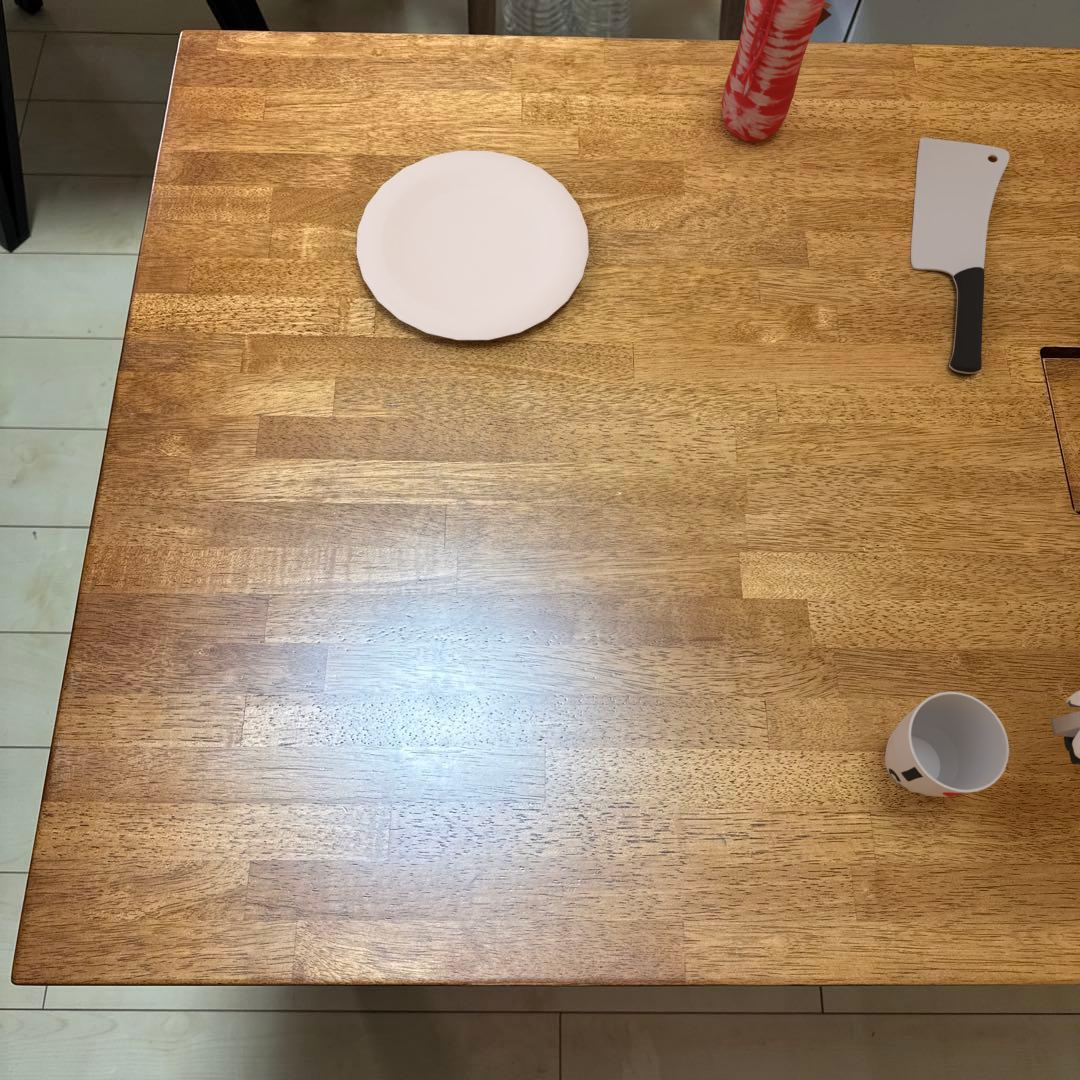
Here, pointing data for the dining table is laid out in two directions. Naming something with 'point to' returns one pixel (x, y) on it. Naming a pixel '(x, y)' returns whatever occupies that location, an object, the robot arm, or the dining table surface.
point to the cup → (947, 747)
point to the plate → (472, 245)
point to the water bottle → (768, 64)
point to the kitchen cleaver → (957, 230)
